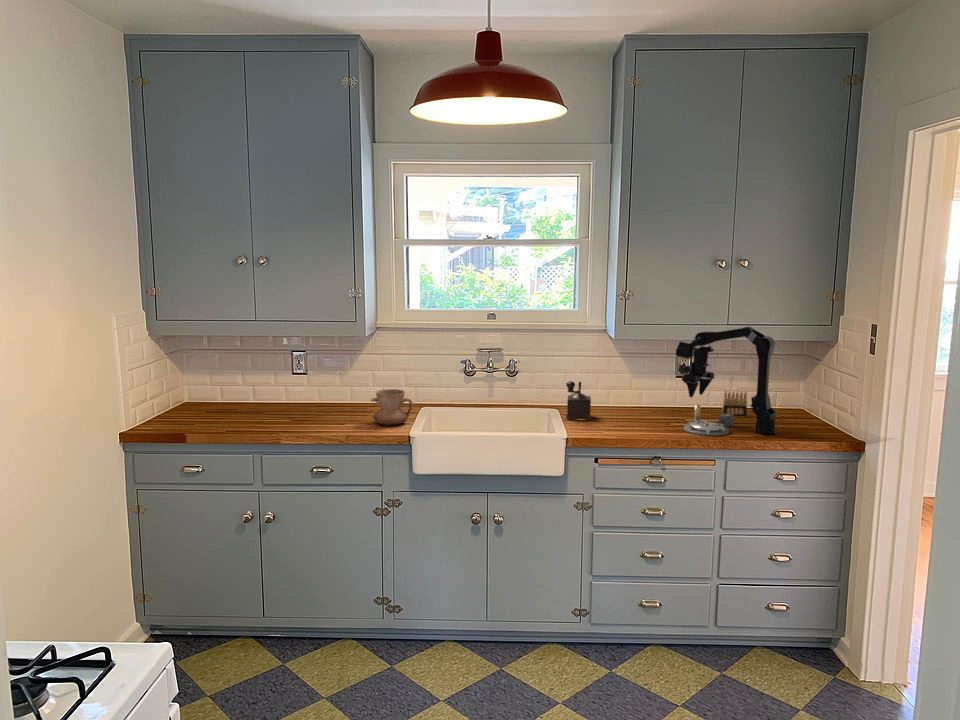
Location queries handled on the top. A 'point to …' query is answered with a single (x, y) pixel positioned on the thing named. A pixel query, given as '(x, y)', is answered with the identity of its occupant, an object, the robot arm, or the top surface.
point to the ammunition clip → (735, 404)
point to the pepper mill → (577, 403)
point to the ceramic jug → (391, 407)
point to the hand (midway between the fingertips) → (695, 395)
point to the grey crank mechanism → (704, 423)
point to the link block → (726, 420)
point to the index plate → (703, 433)
